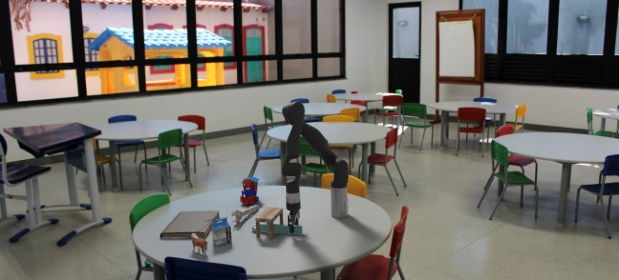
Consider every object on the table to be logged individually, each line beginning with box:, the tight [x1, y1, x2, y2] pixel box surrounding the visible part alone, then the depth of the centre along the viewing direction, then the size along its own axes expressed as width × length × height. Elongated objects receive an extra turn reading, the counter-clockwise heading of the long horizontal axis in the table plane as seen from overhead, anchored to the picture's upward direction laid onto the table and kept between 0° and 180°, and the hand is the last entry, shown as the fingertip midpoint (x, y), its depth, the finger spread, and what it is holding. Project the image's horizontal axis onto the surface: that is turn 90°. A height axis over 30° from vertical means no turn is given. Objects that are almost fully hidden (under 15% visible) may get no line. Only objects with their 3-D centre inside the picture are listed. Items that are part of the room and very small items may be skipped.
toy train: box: [239, 176, 260, 205], centre depth 330 cm, size 10×16×15 cm, turn 172°
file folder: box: [159, 210, 220, 239], centre depth 292 cm, size 33×4×24 cm
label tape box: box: [211, 217, 233, 247], centre depth 266 cm, size 9×4×12 cm, turn 126°
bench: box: [255, 206, 284, 240], centre depth 280 cm, size 9×18×10 cm, turn 166°
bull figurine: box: [189, 233, 208, 256], centre depth 257 cm, size 4×13×8 cm, turn 41°
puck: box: [251, 225, 256, 233], centre depth 283 cm, size 4×4×2 cm
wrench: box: [231, 204, 260, 224], centre depth 304 cm, size 8×2×30 cm
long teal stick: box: [260, 222, 303, 235], centre depth 279 cm, size 23×2×4 cm, turn 76°
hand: (294, 230), depth 277 cm, fingers open, 8 cm apart
